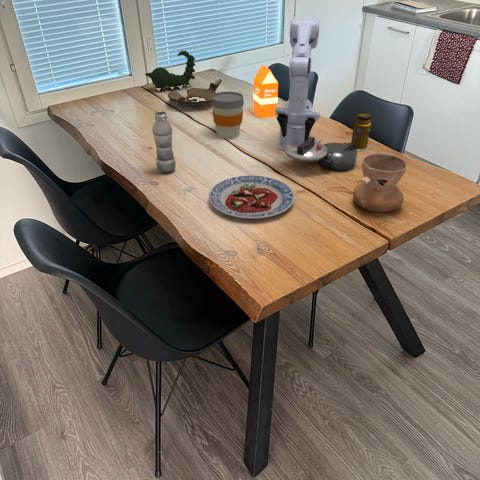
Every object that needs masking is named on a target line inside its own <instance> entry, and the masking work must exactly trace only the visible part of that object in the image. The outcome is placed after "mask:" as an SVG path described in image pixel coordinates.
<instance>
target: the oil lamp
mask: <svg viewBox="0 0 480 480" xmlns="http://www.w3.org/2000/svg"><path fill="white" fill-rule="evenodd" d="M222 81H223V80H222V79H221V78H219V79H217V80H216V81H215V82H210V83H209V88H200V87H190V89H186V94H187V95H186V96H187V98H186V97H184V96H183V95H182V94H180V93H179V92H178V90H177V89H174V90H171V91H169V92H168V94H167V96H168V99H169V101H170V102H173V103H177V104H179V105H184V106H187V107H202V106H206V105H209V104H211V101H212V95H213V94H215V93H217V92H216V91H217V89H218V87H219V86H220V85H221V83H222ZM192 97H199V98H204V99H205V100H206V101H199V102H196V101H189V100H188V101H189V102H188V101H185V100H186V99H188V98H192Z"/></svg>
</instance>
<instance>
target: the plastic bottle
mask: <svg viewBox="0 0 480 480" xmlns="http://www.w3.org/2000/svg"><path fill="white" fill-rule="evenodd" d="M167 116H168V115H167V112H166V111H163V110H162V111H155V113H154V120H155V122H154V124H153V126H152V135H153V138H154V142H155V143H154V144H155V149H156V159H155V161H156V162H155V163H156V167H157V170H158V171H159V172H161V173H166V174H168V173H172V172H174V170H175V169H176V165H177V163H176V159H175V155H174V151H173V127H172V125H171V124H170V122H169V121H168V120H167V119H168V117H167Z"/></svg>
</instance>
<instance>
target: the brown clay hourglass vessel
mask: <svg viewBox="0 0 480 480" xmlns="http://www.w3.org/2000/svg"><path fill="white" fill-rule="evenodd" d="M407 167H408V163H407V161H406V160H405V159H404V158H402V157H401V156H399V155H397V154H392V153H389V152H373V153H372V152H371V153H368V154H366V155H365V156H363V157H362V160H361V168H362V169H361V170H362V174H363V175H362V176H363V178H361V179H360V183H359V184H357V185H356V186H355V187H354V189H353V191H352V197H353V200H354V201H355V203H356V205H358V206H359V207H360V208H362V209H364V210H367V211H370V212H375V213H388V212H393V211H395V210H397V209H398V208H400V207H401V206H402V204H403V203H404V200H405V198H404V197H405V196H404V193H403V191H402V190H401V189H400V187H398V186H397V184H398V183H399V182H400V180H401V179H402V178H403V176H404V174H405V173H406V170H407Z"/></svg>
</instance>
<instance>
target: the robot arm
mask: <svg viewBox="0 0 480 480" xmlns="http://www.w3.org/2000/svg"><path fill="white" fill-rule="evenodd" d="M319 19H320V18H317V19H314V18H313V19H307V18H306V19H304V18H292V19H290V22H289V44H290V47H291V48H292V55H291V58H290V59H289V66H288V70H289V71H288V73H289V95H288V100H286V102H285V104H284V107H283V106H282V107H280V106H277V108H275V115H277V117H276V121H277V122H278V125H279V135H278V136H279V138H278V140H279V141H278V146H277V149H279V150H284V151H286V146H287V145H288V144H290V143H292V142H296V141H307V140H308V138H309V137H310V134H311V131H312V129H313V128H314V127H313V126H314V125H315V124H316V122H318V121H319V120H320V115H321V114H320V112H315V111H313V104H312V103H313V102H311V101H310V100H309V99H308V92H309V80H310V77H311V71H312V50H314V49H315V48H317V46H318V41H319V36H320V23H321V21H320V20H319Z"/></svg>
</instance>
